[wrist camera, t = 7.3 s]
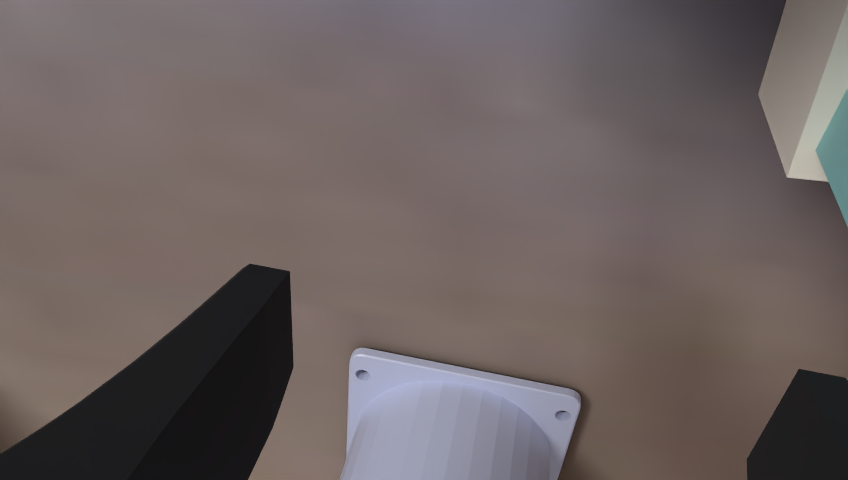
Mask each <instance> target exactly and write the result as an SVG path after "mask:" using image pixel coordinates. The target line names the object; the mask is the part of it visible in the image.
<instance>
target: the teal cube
mask: <svg viewBox="0 0 848 480" xmlns="http://www.w3.org/2000/svg"><path fill="white" fill-rule="evenodd" d="M815 151H816V153H817V155H818V158H819V160H820V163H821V165H822V167H823V170H824V172H825V174H826V177H827V179H828V182H829V184H830V186H831V189H832V191H833V193H834V196H835V198H836V201H837V203H838V205H839V208H840V210H841V212H842V215H843V217H844V219H845V222H846V224H847V227H848V88H847V90H846V92H845V94H844V96H843V98H842V100H841V102H840V104H839V105H838V107H837V109H836V111H835V113H834V115H833V117H832V119H831V121H830V123H829V125H828V127H827V129H826V131H825V132H824V134H823V136H822V138H821V140H820V142H819V144H818V146H817V148H816V150H815Z"/></svg>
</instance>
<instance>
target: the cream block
mask: <svg viewBox="0 0 848 480" xmlns="http://www.w3.org/2000/svg"><path fill="white" fill-rule="evenodd" d="M847 88H848V0H786V4H785V7H784V10H783V14H782V17H781V20H780V24H779V27H778V30H777V34H776V37H775V40H774V43H773V47H772V50H771V53H770V57H769V60H768V63H767V67H766V70H765V73H764V77H763V80H762V83H761V87H760V90H759V93H758V95H759V98H760V101H761V104H762V107H763V110H764V113H765V116H766V118H767V121H768V124H769V127H770V130H771V133H772V136H773V139H774V142H775V145H776V147H777V150H778V153H779V156H780V159H781V162H782V165H783V168H784V171H785V174H786V176H787V178H797V179H807V180H817V181H826V182H828V179H827V177H826V174H825V172H824V170H823V167H822V165H821V163H820V160H819V158H818V155H817V153H816V151H815V150H816V148H817V146H818V144H819V142H820V140H821V138H822V136H823V134H824V132H825V131H826V129H827V127H828V125H829V123H830V121H831V119H832V117H833V115H834V113H835V111H836V109H837V107H838V105H839V104H840V102H841V100H842V98H843V96H844V94H845V92H846V90H847Z"/></svg>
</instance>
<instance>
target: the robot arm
mask: <svg viewBox="0 0 848 480" xmlns="http://www.w3.org/2000/svg"><path fill="white" fill-rule="evenodd" d="M292 370H293V342H292V316H291V290H290V271H285V270H280V269H275V268H270V267H264V266H259V265H254V264H249V265H247V266H246V267H244V268H243V269H242V270H240V271H239V272H238V273H237V274H236V275H235V276H234V277H233V278H231V279H230V280H229V281H228V282H227V283H226V284H225V285H224V286H222V287H221V288H220V289H219V290H218V291H217V292H216V293H215V294H213V295H212V296H211V297H210V298H209V299H208V300H207V301H205V302H204V303H203V304H202V305H201V306H200V307H199V308H197V309H196V310H195V311H194V312H193V313H192V314H191V315H189V316H188V317H187V318H186V319H185V320H184V321H182V322H181V323H180V324H179V325H178V326H176V327H175V328H174V329H173V330H172V331H170V332H169V333H168V334H167V335H166V336H164V337H163V338H162V339H161V340H159V341H158V342H157V343H156V344H155V345H153V346H152V347H151V348H150V349H148V350H147V351H146V352H145V353H144V354H142V355H141V356H140V357H139V358H137V359H136V360H135V361H134V362H132V363H131V364H130V365H128V366H127V367H126V368H124V369H123V370H122V371H120V372H119V373H118V374H116V375H115V376H114V377H112V378H111V379H110V380H108V381H107V382H106V383H104V384H103V385H102V386H100V387H99V388H98V389H96V390H95V391H94V392H92V393H91V394H90V395H88V396H87V397H86V398H84V399H83V400H81V401H80V402H79V403H77V404H76V405H74V406H73V407H72V408H70V409H69V410H67V411H66V412H64V413H63V414H61V415H60V416H58V417H57V418H56V419H54V420H53V421H51V422H50V423H48V424H47V425H45V426H44V427H42V428H41V429H39V430H37V431H36V432H34V433H33V434H31V435H30V436H28V437H27V438H25V439H23V440H22V441H20V442H19V443H17V444H16V445H14V446H12V447H11V448H9V449H8V450H6V451H4V452H3V453H1V454H0V480H248V478H249V476H250V474H251V472H252V470H253V468H254V466H255V464H256V462H257V460H258V457H259V455H260V453H261V451H262V449H263V447H264V445H265V443H266V441H267V439H268V436H269V434H270V432H271V430H272V428H273V425H274V422H275V419H276V417H277V414H278V411H279V408H280V405H281V402H282V400H283V397H284V394H285V391H286V388H287V385H288V382H289V379H290V376H291V373H292ZM362 370H364V371H367V372H364V371H362ZM580 408H581V397H580V395H579V393H577V392H576V391H574V390H572V389H569V388H564V387H559V386H554V385H549V384H544V383H539V382H534V381H529V380H524V379H519V378H514V377H509V376H504V375H499V374H494V373H489V372H484V371H479V370H474V369H469V368H464V367H458V366H453V365H448V364H443V363H438V362H433V361H428V360H423V359H418V358H413V357H408V356H403V355H398V354H393V353H388V352H383V351H378V350H373V349H368V348H358V349H356V350H355V351H353V353H352V356H351V359H350V362H349V393H348V423H347V454H346V462H345V465H344V468H343V471H342V474H341V477H340V480H557V479H558V476H559V473H560V470H561V467H562V464H563V461H564V458H565V455H566V452H567V449H568V445H569V442H570V439H571V436H572V433H573V430H574V427H575V424H576V421H577V418H578V414H579V411H580ZM561 411H566V412H561ZM747 477H748V480H848V381H847V379H846V378H843V377H838V376H833V375H828V374H823V373H817V372H812V371H807V370H802V369H799V370H798V371H797V373H796V375H795V377H794V378H793V380H792V382H791V384H790V385H789V387H788V389H787V391H786V392H785V394H784V396H783V398H782V399H781V401H780V403H779V405H778V406H777V408H776V410H775V411H774V413H773V415H772V417H771V418H770V420H769V422H768V424H767V425H766V427H765V429H764V431H763V432H762V434H761V436H760V438H759V439H758V441H757V443H756V445H755V446H754V448H753V450H752V451H751V453H750V455H749V457H748V458H747Z"/></svg>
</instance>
